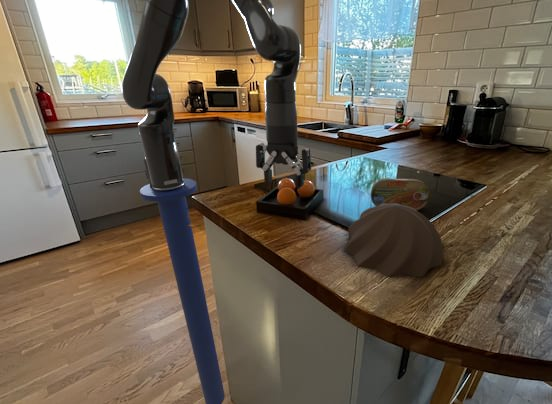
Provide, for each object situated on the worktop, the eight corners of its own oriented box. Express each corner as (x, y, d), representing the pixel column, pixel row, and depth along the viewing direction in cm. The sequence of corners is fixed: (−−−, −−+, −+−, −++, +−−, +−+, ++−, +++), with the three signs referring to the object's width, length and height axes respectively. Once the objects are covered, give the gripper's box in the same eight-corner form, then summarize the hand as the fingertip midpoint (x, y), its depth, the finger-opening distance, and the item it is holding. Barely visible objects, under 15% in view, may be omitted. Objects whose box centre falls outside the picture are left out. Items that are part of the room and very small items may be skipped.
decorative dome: (424, 292, 50) (433, 241, 46) (326, 254, 61) (327, 209, 57) (453, 243, 64) (462, 200, 60) (370, 219, 75) (372, 181, 71)
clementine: (270, 199, 77) (281, 188, 74) (278, 192, 81) (289, 181, 79) (284, 213, 78) (295, 202, 75) (291, 204, 82) (302, 194, 79)
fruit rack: (256, 212, 79) (254, 189, 77) (280, 193, 91) (279, 173, 89) (305, 220, 75) (304, 196, 72) (323, 199, 87) (323, 178, 84)
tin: (369, 209, 80) (372, 179, 77) (369, 204, 83) (371, 176, 80) (427, 212, 78) (432, 182, 75) (425, 207, 81) (430, 178, 78)
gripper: (315, 121, 71) (314, 184, 78) (263, 118, 76) (266, 178, 83) (303, 126, 65) (303, 194, 71) (247, 122, 70) (252, 187, 76)
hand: (283, 185), depth 77 cm, fingers open, 8 cm apart
